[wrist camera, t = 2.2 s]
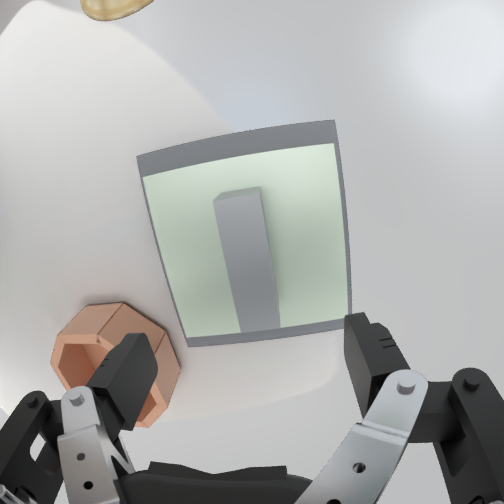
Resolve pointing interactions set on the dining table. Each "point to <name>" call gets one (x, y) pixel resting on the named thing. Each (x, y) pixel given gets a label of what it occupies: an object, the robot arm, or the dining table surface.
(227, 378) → the dining table surface
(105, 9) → the hand bell
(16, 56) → the dining table surface
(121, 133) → the dining table surface
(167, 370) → the bowl
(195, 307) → the cover sheet
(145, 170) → the mat
